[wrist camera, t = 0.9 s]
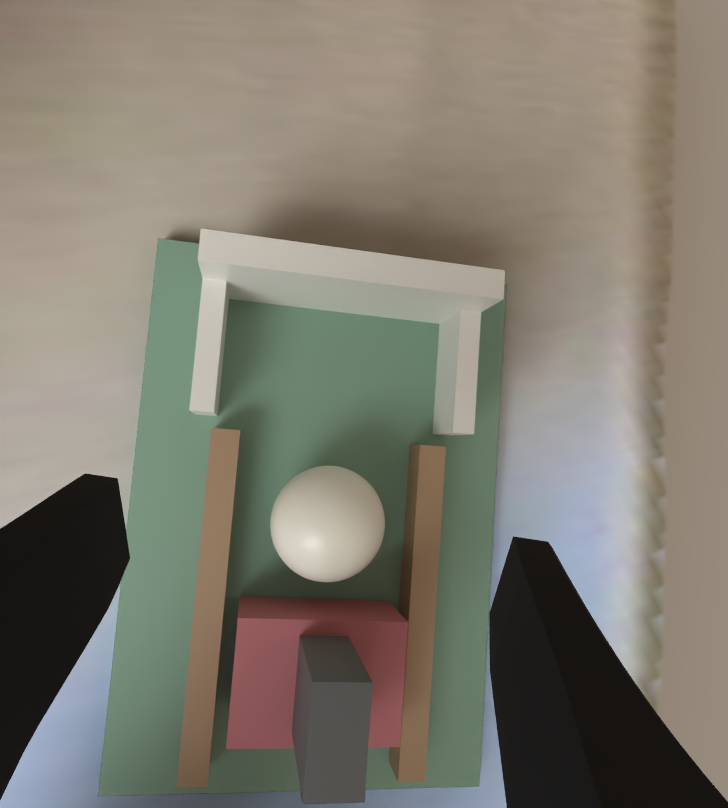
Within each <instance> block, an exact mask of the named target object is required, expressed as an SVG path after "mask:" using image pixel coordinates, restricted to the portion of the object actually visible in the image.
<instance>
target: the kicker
mask: <svg viewBox="0 0 728 808" xmlns="http://www.w3.org/2000/svg"><path fill="white" fill-rule="evenodd" d="M407 634H408V621H407V620H406V619H405V618H404V617H403V616H402V615H401V614H400V613H399V612H398V611H397V609H396V608H395V607H394V606H393V605H392V604H391V603H390V602H389V601H388V600H363V599H331V598H300V597H268V596H239V607H238V618H237V629H236V640H235V651H234V663H233V674H232V685H231V696H230V707H229V720H228V733H227V746H226V749H284V748H294V750H295V757H296V764H297V770H298V777H299V783H300V790H301V797H302V803H303V804H327V803H360V802H364V800H365V786H366V772H367V758H368V747H400V740H401V725H402V710H403V695H404V679H405V664H406V649H407Z"/></svg>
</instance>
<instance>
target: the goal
mask: <svg viewBox="0 0 728 808" xmlns="http://www.w3.org/2000/svg"><path fill="white" fill-rule="evenodd" d="M198 264H199V267H200V271H201V275H202V288H201V298H200V308H199V318H198V328H197V338H196V348H195V358H194V368H193V378H192V388H191V398H190V408H189V410H190V411H191V412H193V413H194V414H197V415H209V416H218V408H219V397H220V387H221V377H222V366H223V356H224V345H225V335H226V325H227V314H228V304H229V299H233V300H242V301H250V302H259V303H267V304H275V305H284V306H292V307H301V308H309V309H318V310H326V311H335V312H343V313H352V314H360V315H369V316H377V317H386V318H394V319H403V320H411V321H420V322H428V323H437V324H439V339H438V355H437V370H436V386H435V401H434V417H433V432H432V434H436V435H448V436H455V435H470V434H474V427H475V410H476V393H477V376H478V359H479V341H480V324H481V312H483V311H485V310H486V309H488V308H490V307H491V306H493V305H495V304H496V303H498V302H500V301H501V300H503V299H504V282H505V270H499V269H492V268H484V267H477V266H470V265H463V264H455V263H448V262H441V261H434V260H426V259H419V258H412V257H404V256H397V255H390V254H383V253H375V252H368V251H361V250H353V249H346V248H339V247H332V246H324V245H317V244H310V243H303V242H295V241H288V240H281V239H273V238H266V237H259V236H252V235H244V234H237V233H230V232H222V231H215V230H208V229H201V231H200V241H199V251H198Z"/></svg>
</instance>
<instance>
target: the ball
mask: <svg viewBox="0 0 728 808" xmlns="http://www.w3.org/2000/svg"><path fill="white" fill-rule="evenodd" d="M270 530H271V537H272V541H273V544H274V546H275V549H276V551H277V553H278V555H279V556H280V558H281V559H282V560H283V562H284V563H285V564H286V565H287V566H288V567H289V568H290V569H291V570H293V571H294V572H295V573H297V574H298V575H300V576H302V577H304V578H307V579H309V580H313V581H318V582H336V581H341V580H344V579H348V578H350V577H352V576H354V575H356V574H357V573H359V572H360V571H362V570H363V569H364V568H365V567H366V566H367V565H368V564H369V563H370V562H371V561H372V560H373V558H374V557H375V556H376V554H377V552H378V550H379V548H380V546H381V543H382V540H383V536H384V530H385V517H384V511H383V507H382V503H381V501H380V498H379V496H378V495H377V493H376V491H375V490H374V488H373V487H372V486H371V485H370V484H369V483H368V482H367V481H366V480H365V479H364V478H363V477H361V476H360V475H359V474H357V473H355V472H353V471H351V470H349V469H346V468H343V467H339V466H318V467H314V468H310V469H308V470H305V471H303V472H301V473H300V474H298V475H296V476H295V477H294V478H292V479H291V480H290V481H289V482H288V483H287V484H286V485H285V486H284V487H283V489H282V490H281V491H280V493H279V495H278V496H277V498H276V500H275V503H274V505H273V509H272V513H271V519H270Z"/></svg>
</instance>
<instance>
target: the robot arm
mask: <svg viewBox="0 0 728 808" xmlns="http://www.w3.org/2000/svg"><path fill="white" fill-rule="evenodd" d="M129 560H130V553H129V547H128V541H127V535H126V528H125V522H124V516H123V509H122V503H121V497H120V491H119V484H118V478H111V477H105V476H98V475H91V474H84V475H82V476H81V477H79V478H77V479H76V480H74V481H73V482H71V483H70V484H68V485H66V486H65V487H63V488H62V489H60V490H59V491H57V492H56V493H54V494H53V495H51V496H50V497H48V498H47V499H45V500H44V501H42V502H41V503H39V504H38V505H36V506H35V507H33V508H32V509H30V510H29V511H27V512H26V513H24V514H23V515H21V516H20V517H18V518H16V519H15V520H13V521H12V522H10V523H9V524H7V525H6V526H4V527H3V528H1V529H0V800H1V798H2V795H3V793H4V791H5V789H6V787H7V785H8V783H9V781H10V779H11V777H12V775H13V773H14V771H15V769H16V767H17V765H18V763H19V760H20V758H21V756H22V754H23V752H24V750H25V749H26V747H27V745H28V743H29V741H30V740H31V738H32V736H33V734H34V732H35V731H36V729H37V727H38V725H39V723H40V722H41V720H42V718H43V717H44V715H45V714H46V712H47V710H48V709H49V707H50V705H51V704H52V702H53V700H54V699H55V697H56V695H57V694H58V692H59V690H60V689H61V687H62V685H63V684H64V682H65V680H66V679H67V677H68V675H69V674H70V672H71V670H72V669H73V667H74V665H75V664H76V662H77V661H78V659H79V657H80V656H81V654H82V652H83V651H84V649H85V647H86V646H87V644H88V642H89V640H90V639H91V637H92V635H93V634H94V632H95V630H96V629H97V627H98V625H99V624H100V622H101V620H102V618H103V617H104V615H105V613H106V612H107V610H108V608H109V606H110V603H111V601H112V599H113V597H114V595H115V593H116V590H117V588H118V586H119V584H120V581H121V579H122V577H123V574H124V572H125V570H126V567H127V565H128V562H129ZM490 673H491V682H492V690H493V699H494V707H495V715H496V723H497V731H498V739H499V747H500V755H501V763H502V771H503V779H504V787H505V795H506V803H507V808H728V802H727V801H726V800H725V798H724V797H723V796H722V795H721V794H720V792H719V791H718V790H717V789H716V788H715V786H714V785H712V783H711V782H710V781H709V779H708V778H707V777H706V776H705V775H704V774H703V772H702V771H701V770H700V768H699V767H698V766H697V765H696V763H695V762H694V761H693V760H692V758H691V757H690V756H689V755H688V754H687V752H686V751H685V750H684V749H683V747H682V746H681V745H680V744H679V742H678V741H677V740H676V738H675V737H674V736H673V734H672V733H671V732H670V730H669V729H668V728H667V727H666V725H665V724H664V723H663V721H662V720H661V718H660V717H659V716H658V714H657V713H656V712H655V710H654V709H653V708H652V706H651V705H650V703H649V702H648V701H647V699H646V698H645V696H644V695H643V694H642V692H641V691H640V689H639V688H638V686H637V685H636V684H635V682H634V681H633V679H632V678H631V676H630V675H629V673H628V672H627V671H626V669H625V668H624V666H623V665H622V663H621V662H620V660H619V659H618V657H617V655H616V654H615V652H614V651H613V649H612V648H611V646H610V645H609V643H608V641H607V640H606V638H605V637H604V635H603V634H602V632H601V630H600V629H599V627H598V626H597V624H596V623H595V621H594V619H593V618H592V616H591V614H590V613H589V611H588V609H587V608H586V606H585V604H584V603H583V601H582V599H581V598H580V596H579V594H578V592H577V591H576V589H575V587H574V586H573V584H572V582H571V580H570V579H569V577H568V575H567V573H566V572H565V570H564V568H563V566H562V564H561V563H560V561H559V559H558V557H557V555H556V554H555V552H554V550H553V548H552V547H551V545H550V544H549V543H548V542H546V541H539V540H532V539H526V538H519V537H513V539H512V542H511V545H510V549H509V552H508V555H507V558H506V562H505V565H504V568H503V571H502V575H501V578H500V581H499V584H498V588H497V591H496V594H495V597H494V601H493V604H492V607H491V610H490Z"/></svg>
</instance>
